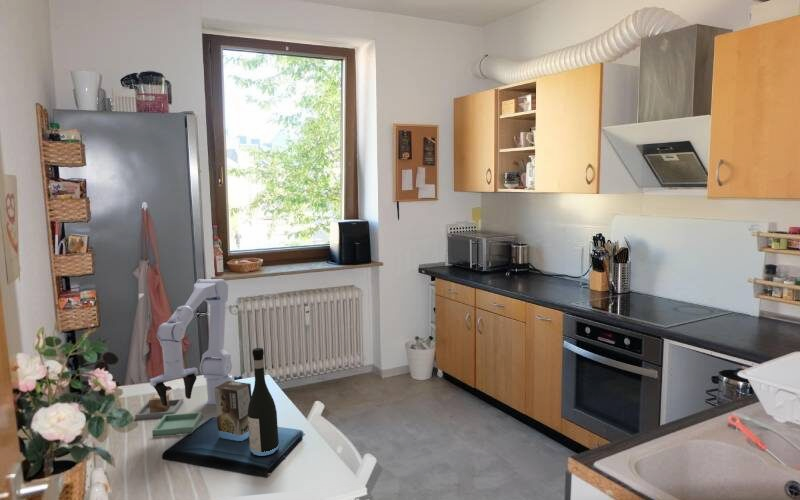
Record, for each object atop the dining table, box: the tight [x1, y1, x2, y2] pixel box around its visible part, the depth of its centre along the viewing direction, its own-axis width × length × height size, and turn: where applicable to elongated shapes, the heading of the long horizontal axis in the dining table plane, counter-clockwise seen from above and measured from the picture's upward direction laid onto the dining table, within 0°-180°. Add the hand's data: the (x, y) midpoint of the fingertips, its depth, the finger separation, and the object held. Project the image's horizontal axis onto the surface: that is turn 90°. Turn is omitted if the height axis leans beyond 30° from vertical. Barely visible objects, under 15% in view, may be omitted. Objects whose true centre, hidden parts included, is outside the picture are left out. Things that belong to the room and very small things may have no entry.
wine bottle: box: [248, 347, 280, 452], centre depth 155 cm, size 8×8×30 cm
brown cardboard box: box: [148, 393, 170, 413], centre depth 189 cm, size 5×5×5 cm
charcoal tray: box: [134, 398, 184, 420], centre depth 189 cm, size 12×12×2 cm
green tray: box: [151, 411, 203, 438], centre depth 176 cm, size 12×12×2 cm
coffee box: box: [214, 381, 252, 435], centre depth 167 cm, size 9×6×16 cm
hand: (176, 401), depth 176 cm, fingers open, 7 cm apart
